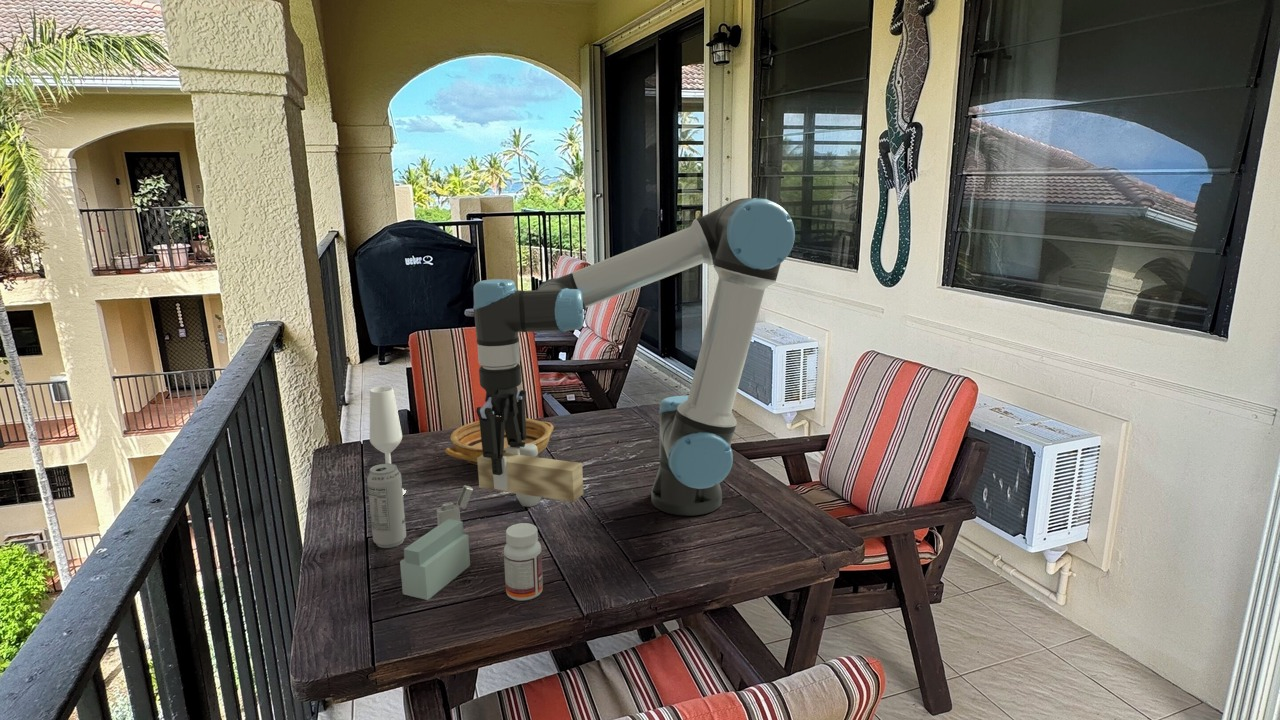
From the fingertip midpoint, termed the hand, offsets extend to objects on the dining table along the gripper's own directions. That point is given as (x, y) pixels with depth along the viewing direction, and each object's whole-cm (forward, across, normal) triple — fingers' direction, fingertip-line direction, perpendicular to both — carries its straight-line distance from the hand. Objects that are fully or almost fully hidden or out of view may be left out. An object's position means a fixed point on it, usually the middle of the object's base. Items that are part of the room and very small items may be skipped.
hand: (508, 484), depth 137 cm
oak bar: (+1, 0, +5) cm, 5 cm away
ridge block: (+11, +18, -4) cm, 21 cm away
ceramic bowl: (+11, -33, -23) cm, 41 cm away
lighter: (+11, 0, -13) cm, 17 cm away
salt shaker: (+11, -15, -5) cm, 19 cm away
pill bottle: (+11, +16, +12) cm, 23 cm away
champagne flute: (+11, -8, -36) cm, 38 cm away
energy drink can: (+11, +10, -21) cm, 25 cm away
